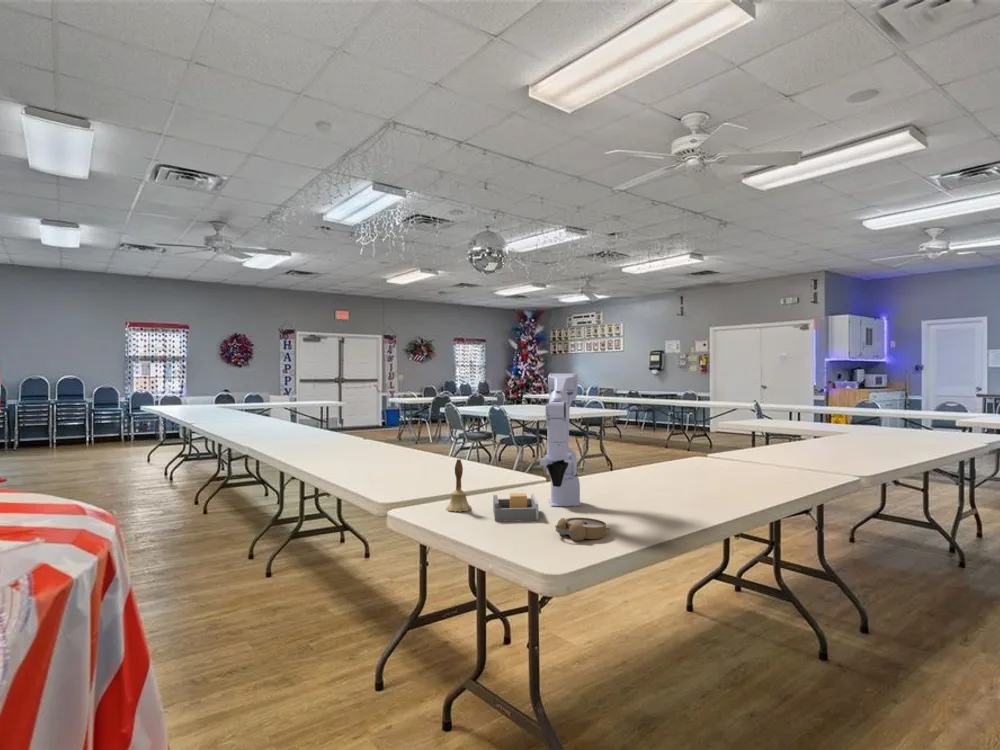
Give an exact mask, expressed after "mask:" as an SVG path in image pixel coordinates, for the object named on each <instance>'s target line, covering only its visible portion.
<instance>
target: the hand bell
mask: <svg viewBox="0 0 1000 750" xmlns="http://www.w3.org/2000/svg"><path fill="white" fill-rule="evenodd" d="M454 465H455V466H454V475H455V478H456V479H455V483H456V485H455V490H454V491H452V492H451V498H450V500H449V501H450V502H449V503H448V505H447V506H446V508H445V510H446V511H447V510H448V511H447V512H450V511H455V512H454V513H457V512H456V511H465V512H469V511H471V510H473V508H472V506H471V504H469V502H468V500H467V493H466V492H465V491H464V490H462V477H463V471H464V468H463V463H462V459H460V458H459V459H456V462H455V464H454ZM468 510H469V511H468Z"/></svg>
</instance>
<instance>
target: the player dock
mask: <svg viewBox="0 0 1000 750" xmlns="http://www.w3.org/2000/svg"><path fill="white" fill-rule="evenodd" d="M492 497H493V498H492V499H493V500H492V501H493V502H492V508H493V509H492V510H493V517H494V522H505V521H504V520H526V521H536V519H535V508H499V504H510V498H498V495H497V494H493V496H492ZM528 503H531V497H527V504H528Z"/></svg>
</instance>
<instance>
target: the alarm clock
mask: <svg viewBox="0 0 1000 750" xmlns="http://www.w3.org/2000/svg"><path fill="white" fill-rule="evenodd" d="M554 527H555V531H556V533H558V534H559V535H560V536H564V537H565V536H566V535H567V536H569V537H570V538H571V540H573V541H575V542H582V541H583V540H585V539H586V540H600V539H604V538H605V537H606V534H607V533H606V532H607V531H610V530H611V528H609V527H607V523H606V522H605V521H603V520H600V519H595V518H592V517H591V518H589V517H569V518H565V517H561V518H560V519H559V520H558V521H557V524H556V525H555V526H554Z"/></svg>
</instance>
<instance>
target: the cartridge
mask: <svg viewBox="0 0 1000 750" xmlns="http://www.w3.org/2000/svg"><path fill="white" fill-rule="evenodd" d="M527 498H528V495H527V492H518V493H517V492H514V493H513V492H511V493H509V499H510V508H527Z"/></svg>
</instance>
